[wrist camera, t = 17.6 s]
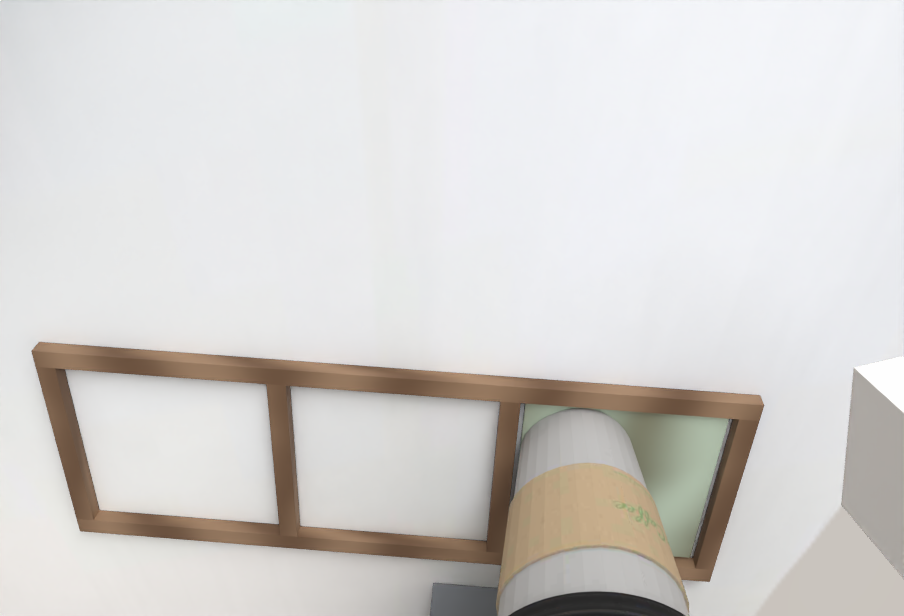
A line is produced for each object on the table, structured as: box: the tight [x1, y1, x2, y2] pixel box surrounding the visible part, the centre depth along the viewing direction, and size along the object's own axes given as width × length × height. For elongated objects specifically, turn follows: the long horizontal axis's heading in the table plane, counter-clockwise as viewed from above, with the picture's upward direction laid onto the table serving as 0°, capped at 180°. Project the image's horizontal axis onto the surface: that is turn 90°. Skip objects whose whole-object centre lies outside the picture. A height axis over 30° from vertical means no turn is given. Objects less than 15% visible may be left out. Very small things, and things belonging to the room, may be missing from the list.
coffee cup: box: [496, 408, 689, 616], centre depth 38 cm, size 10×9×15 cm
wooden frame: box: [32, 342, 764, 582], centre depth 46 cm, size 37×13×1 cm, turn 87°
